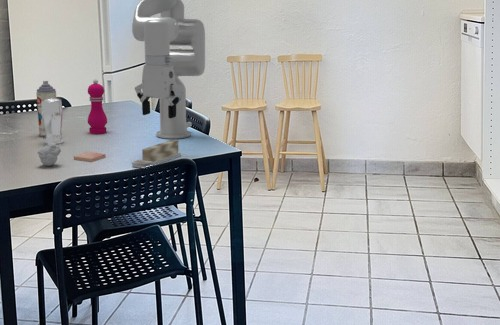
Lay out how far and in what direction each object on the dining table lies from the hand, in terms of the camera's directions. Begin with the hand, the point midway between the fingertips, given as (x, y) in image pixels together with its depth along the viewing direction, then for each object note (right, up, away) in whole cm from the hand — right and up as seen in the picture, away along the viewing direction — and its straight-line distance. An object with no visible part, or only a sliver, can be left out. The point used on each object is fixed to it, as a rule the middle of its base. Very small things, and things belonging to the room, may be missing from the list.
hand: (159, 115), depth 205 cm
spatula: (-1, -13, +1) cm, 13 cm away
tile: (-21, -12, +7) cm, 25 cm away
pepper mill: (-29, -3, +43) cm, 52 cm away
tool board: (-1, -14, +2) cm, 14 cm away
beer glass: (-40, -8, +26) cm, 49 cm away
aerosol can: (-46, -5, +38) cm, 59 cm away
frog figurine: (-32, -16, -5) cm, 36 cm away
